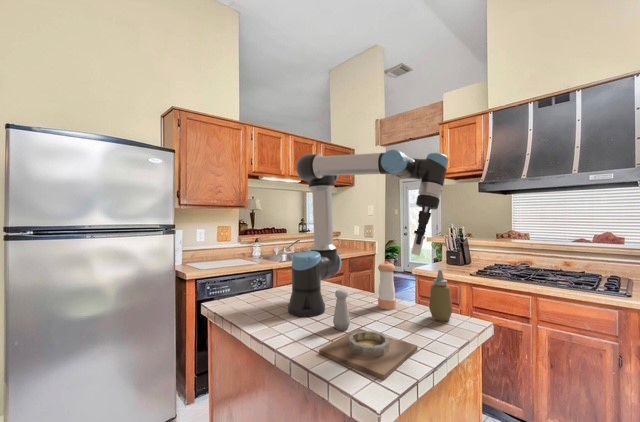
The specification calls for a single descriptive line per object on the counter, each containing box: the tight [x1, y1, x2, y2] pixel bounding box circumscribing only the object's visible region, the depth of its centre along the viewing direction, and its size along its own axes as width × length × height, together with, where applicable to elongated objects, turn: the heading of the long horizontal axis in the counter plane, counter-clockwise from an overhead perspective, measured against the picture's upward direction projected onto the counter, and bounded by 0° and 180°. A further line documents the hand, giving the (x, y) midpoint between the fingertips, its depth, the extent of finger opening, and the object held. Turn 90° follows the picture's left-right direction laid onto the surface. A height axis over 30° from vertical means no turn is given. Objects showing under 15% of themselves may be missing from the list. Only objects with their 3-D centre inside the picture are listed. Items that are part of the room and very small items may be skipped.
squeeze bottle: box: [428, 269, 453, 322], centre depth 108 cm, size 8×8×18 cm
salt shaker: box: [332, 288, 351, 332], centre depth 99 cm, size 6×6×13 cm
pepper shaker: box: [377, 261, 397, 311], centre depth 122 cm, size 7×7×19 cm
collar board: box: [318, 328, 418, 381], centre depth 81 cm, size 20×20×4 cm
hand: (415, 254), depth 102 cm, fingers open, 13 cm apart
